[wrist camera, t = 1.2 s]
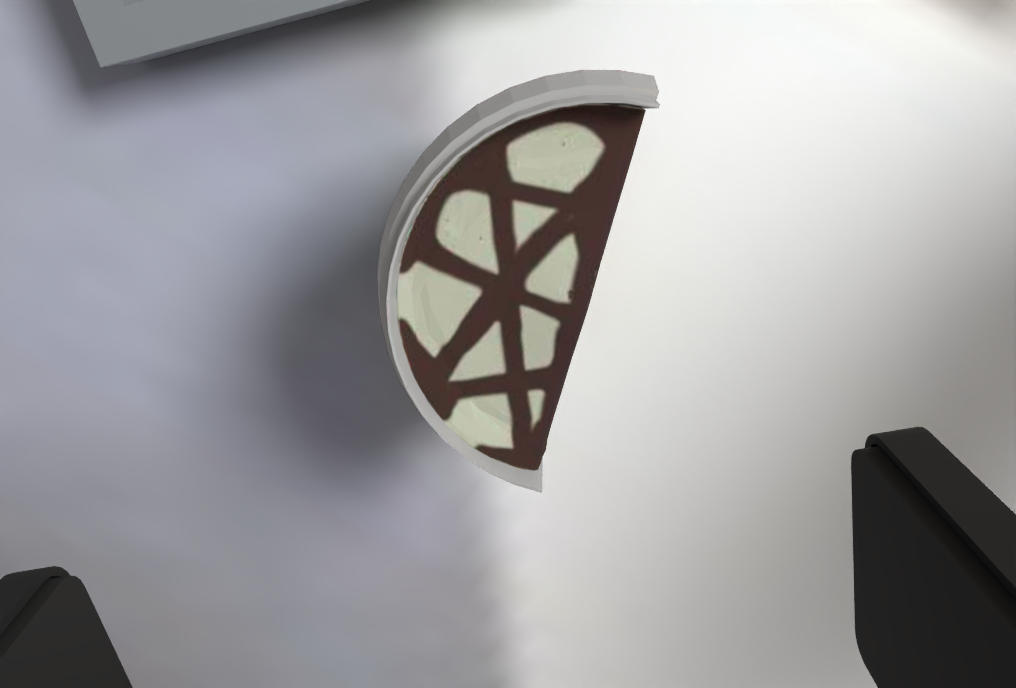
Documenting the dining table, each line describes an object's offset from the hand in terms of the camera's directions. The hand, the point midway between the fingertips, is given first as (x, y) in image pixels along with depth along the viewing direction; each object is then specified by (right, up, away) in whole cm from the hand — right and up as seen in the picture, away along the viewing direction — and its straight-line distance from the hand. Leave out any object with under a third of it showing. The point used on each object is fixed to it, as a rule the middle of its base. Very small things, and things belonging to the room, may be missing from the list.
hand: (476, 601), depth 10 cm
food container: (0, +8, +21) cm, 22 cm away
